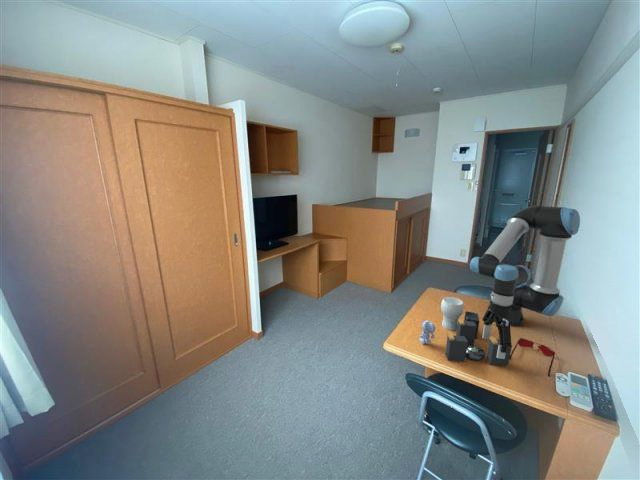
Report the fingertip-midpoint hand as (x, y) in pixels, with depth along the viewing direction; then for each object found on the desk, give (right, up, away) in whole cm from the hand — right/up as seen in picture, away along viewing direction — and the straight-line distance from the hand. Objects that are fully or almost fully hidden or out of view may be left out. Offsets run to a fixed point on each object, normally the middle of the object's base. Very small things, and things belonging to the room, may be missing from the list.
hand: (492, 347), depth 114 cm
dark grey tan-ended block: (+3, -7, +2) cm, 8 cm away
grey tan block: (-3, -4, +16) cm, 17 cm away
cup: (-4, 0, +29) cm, 30 cm away
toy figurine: (-23, -4, +16) cm, 28 cm away
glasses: (+20, -7, +4) cm, 21 cm away
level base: (-5, -6, +7) cm, 10 cm away
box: (+3, -2, +22) cm, 23 cm away
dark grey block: (-14, -6, +4) cm, 16 cm away
